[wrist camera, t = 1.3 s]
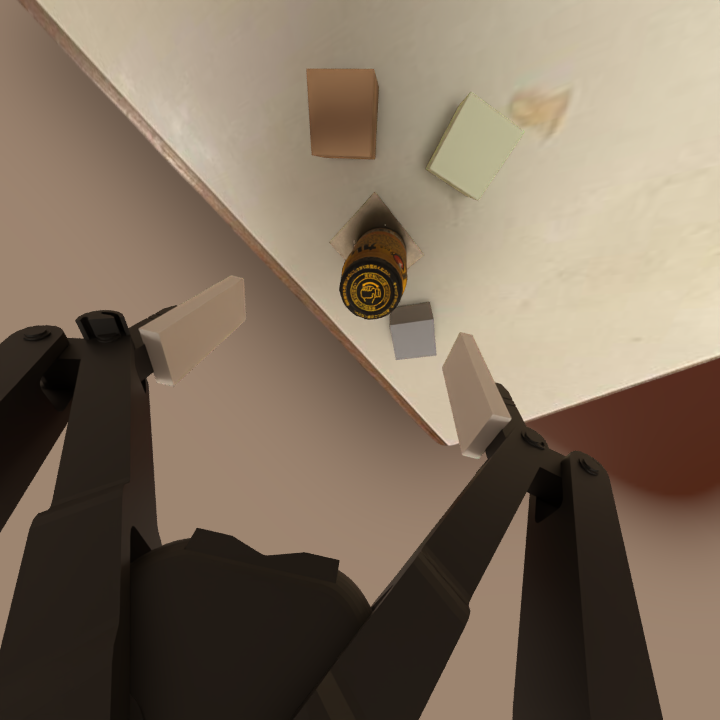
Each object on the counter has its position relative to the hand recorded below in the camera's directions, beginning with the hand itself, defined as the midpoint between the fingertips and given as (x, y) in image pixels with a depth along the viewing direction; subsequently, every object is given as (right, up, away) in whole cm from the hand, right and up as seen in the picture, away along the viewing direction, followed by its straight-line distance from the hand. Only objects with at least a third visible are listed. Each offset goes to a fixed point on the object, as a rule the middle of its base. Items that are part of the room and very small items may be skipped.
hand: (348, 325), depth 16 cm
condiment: (+3, +11, +15) cm, 19 cm away
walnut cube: (0, +20, +9) cm, 22 cm away
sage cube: (+10, +17, +9) cm, 22 cm away
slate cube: (+8, +3, +19) cm, 21 cm away
